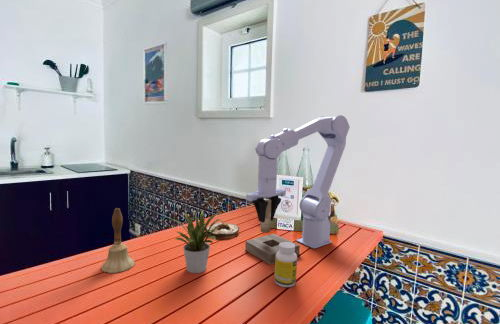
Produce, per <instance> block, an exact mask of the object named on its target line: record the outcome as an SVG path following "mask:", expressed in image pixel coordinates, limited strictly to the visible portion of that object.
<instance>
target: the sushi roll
mask: <svg viewBox="0 0 500 324" xmlns="http://www.w3.org/2000/svg"><path fill="white" fill-rule="evenodd" d="M210 226H211V224H210V225H207V227H206V229H205V231H206V230H208V229H209V228H208V227H210ZM218 227H220V228H218ZM215 228H217V229H216V230H215V231H213V232H212V234H211V235H210V236H215V237H216V240H218V241H219V240H229V239H232V238H235V237H238V234H239V231H240V226H239V225H237V224H234V223H231V222H230V223H229V222H215V223H214V224H213V226H212V227H211V228H210V230H213V229H215ZM205 231H204V232H205ZM210 232H211V231H209V232H208V234H209V233H210ZM208 234H207V235H206V236H208ZM210 236H209V237H210Z"/></svg>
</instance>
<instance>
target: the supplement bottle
mask: <svg viewBox="0 0 500 324" xmlns="http://www.w3.org/2000/svg"><path fill="white" fill-rule="evenodd" d="M293 243H294V242H293ZM293 243H290V242H281V243H280V244H279V251H278V252H277V253H276V259H275V263H274V283H275V284H276V285H278V287H279V286H280V287H281V288H282V287H283V288H291V287H293V286H295V285H296V284H297V283H296V282H297V268H298V267H297V266H298V255H296V253H295V245H294V244H293Z"/></svg>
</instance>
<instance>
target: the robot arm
mask: <svg viewBox="0 0 500 324" xmlns="http://www.w3.org/2000/svg"><path fill="white" fill-rule="evenodd" d="M350 128H351V127H350V124H349V122H348V119H347V117H345V115H341V114H340V115H339V114H338V115H333V116H331V115H329V116H328V115H327V116H324V115H323V116H320V117H316V118H315V119H313V120H311V121H309V122H307V123H306V124H304V125H302V126H300V127H298V128H296V129H292V128H287V127H286V128H283V129H282V130H281V132H279V133H276V134H275V135H274V134H271V135H269V138H268V139H267V138H263V139H261V140H259V141H258V143H257V145H256V147H255V149H254V150H255V153H256V155H257V157H258V169H257V171H258V172H257V173H258V174H257V190H256V191H253V192H250V193H246V196H245V200H246V201H247V202H251V203H252V204H253V206H254V208H255V211H256V214H257V219H258V220H257V221H258V222H260V223H261V222H262V223H263V222H265V213H266V208H267V205H268V202H266V201H265V200H264V199H270V200H271V222H273V221H274V219H275V218H274V217H275V214H276V212H277V209H278V207H279V206H280V203H281V202H282V198H281V197H286V192H287V191H286V189H282V188H281V189H280V188H278V189H277V175H278V173H277V172H278V158H279V157H280V156H281V154H282V153H283V152H286V151H287V150H290V149H291V148H293V147H295V146H298V144H299V141H300V140H302V139H304V138H306V137H308V136H311V135H313V134H315V133H318V134H319V135H320V136H321V137H322V139H323V140H324V141H325V143H326V145H327V148H326V150H325V152H324V156H323V158H322V161H321V164H320V166H319V169H318V172H317V175H316V176H315V180H314V183H313V184H312V187H311V188H310V189H308V190H307V191H306V192H305V194H304V196H303V197H302V198H301V199H300V201H299V209H300V212H302V214H301V215H302V216H303V217H302V233H301V234H302V236H301V238H297V239H296V242H297V243H300V244H303V245H305V246H306V247H309V248H311V249H317V248H321V247H323V246H326V245H329V244H332V240H330V238H331V237H330V236H331V222H330V219H329V218H328V217H329V216H330V214H331V204H332V203H333V202H332V199H331V196H330V195H329V191H330V189H331V186H332V184H333V181H334V178H335V175H336V172H337V169H338V168H339V164H340V161H341V159H342V156H343V154H344V151H345V149H346V144H347V143H346V142H347V135H348V133H349V130H350Z"/></svg>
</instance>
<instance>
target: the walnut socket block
mask: <svg viewBox="0 0 500 324" xmlns="http://www.w3.org/2000/svg"><path fill="white" fill-rule="evenodd" d="M281 242H290V243H293V244H294V245H295V253H296V255H297V256H299V255H300V251H301V250H300V245H299V244H298V243H295V242H293V241H290V240H289V239H286V238H284V237H282V236H280V235H279V234H278V235H277V234H275V233H270V234H267V235H263V236H259V237H256V238H252V239H248V240H245V246H244V247H245V249H244V250H245V251H246V252H248V253H250V254H251V255H253V256H255V257H256V258H258V259H260V260H262V261H264V263H266V264H268V265H270V266H271V265H275V259H276V253H277V252H278V251H279V244H280V243H281Z"/></svg>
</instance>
